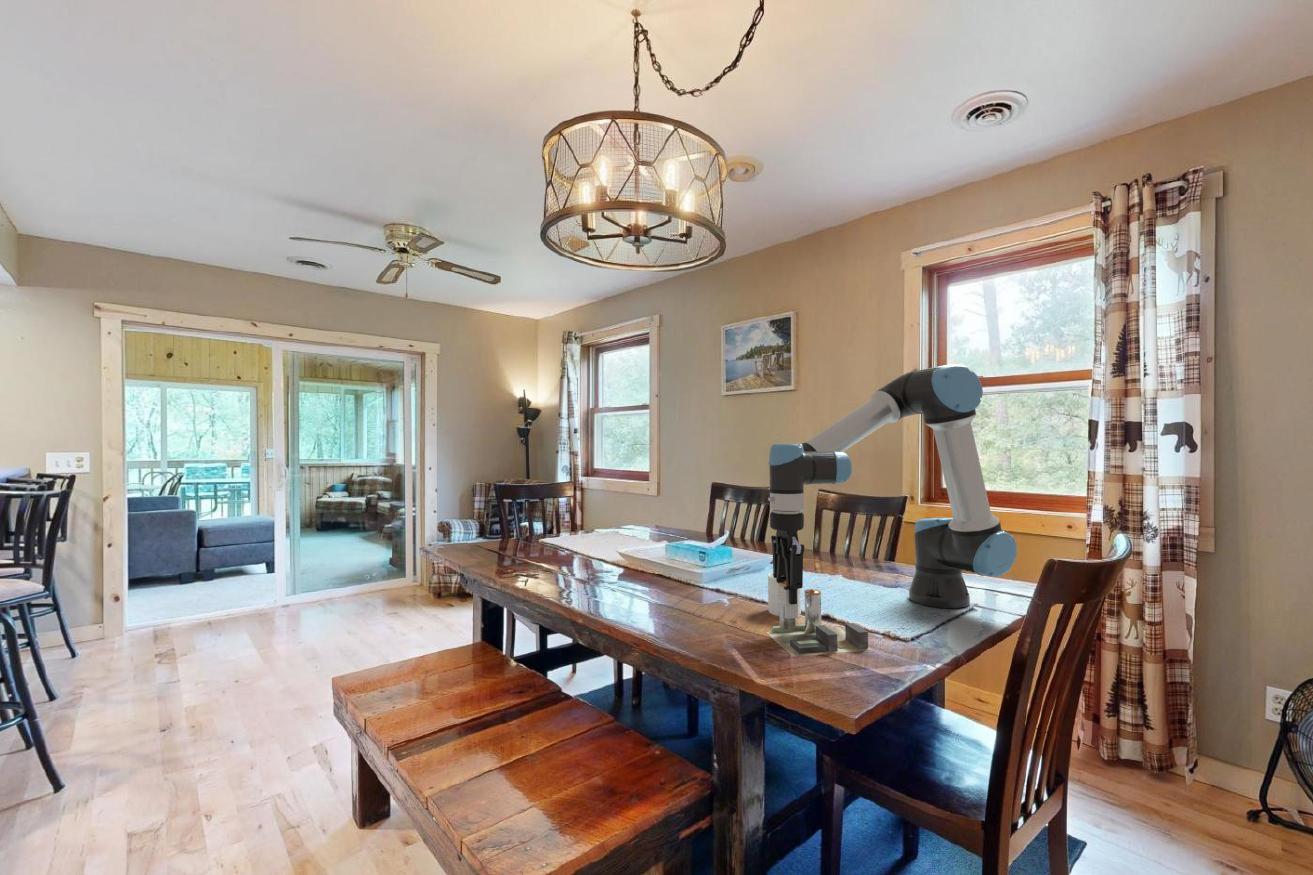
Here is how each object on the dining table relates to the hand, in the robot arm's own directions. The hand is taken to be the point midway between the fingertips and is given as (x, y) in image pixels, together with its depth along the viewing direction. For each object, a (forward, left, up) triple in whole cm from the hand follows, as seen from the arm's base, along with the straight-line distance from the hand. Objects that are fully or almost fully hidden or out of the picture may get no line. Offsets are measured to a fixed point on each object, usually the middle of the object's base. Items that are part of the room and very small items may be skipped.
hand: (787, 614), depth 128 cm
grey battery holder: (-5, +4, -6) cm, 9 cm away
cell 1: (0, 0, -3) cm, 3 cm away
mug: (-6, -16, -6) cm, 18 cm away
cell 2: (-6, 0, -5) cm, 8 cm away
